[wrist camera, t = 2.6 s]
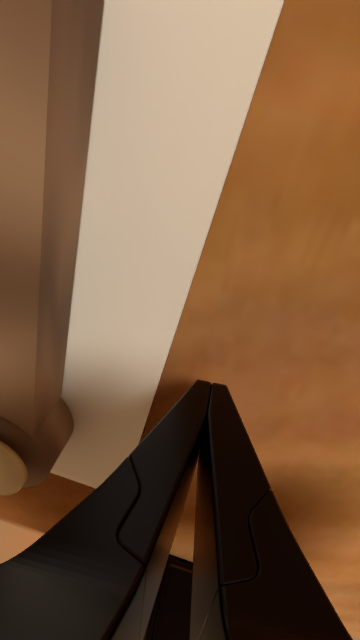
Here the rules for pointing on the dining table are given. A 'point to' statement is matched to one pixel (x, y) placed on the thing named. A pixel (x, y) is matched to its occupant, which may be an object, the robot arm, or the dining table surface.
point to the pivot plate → (147, 207)
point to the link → (41, 212)
